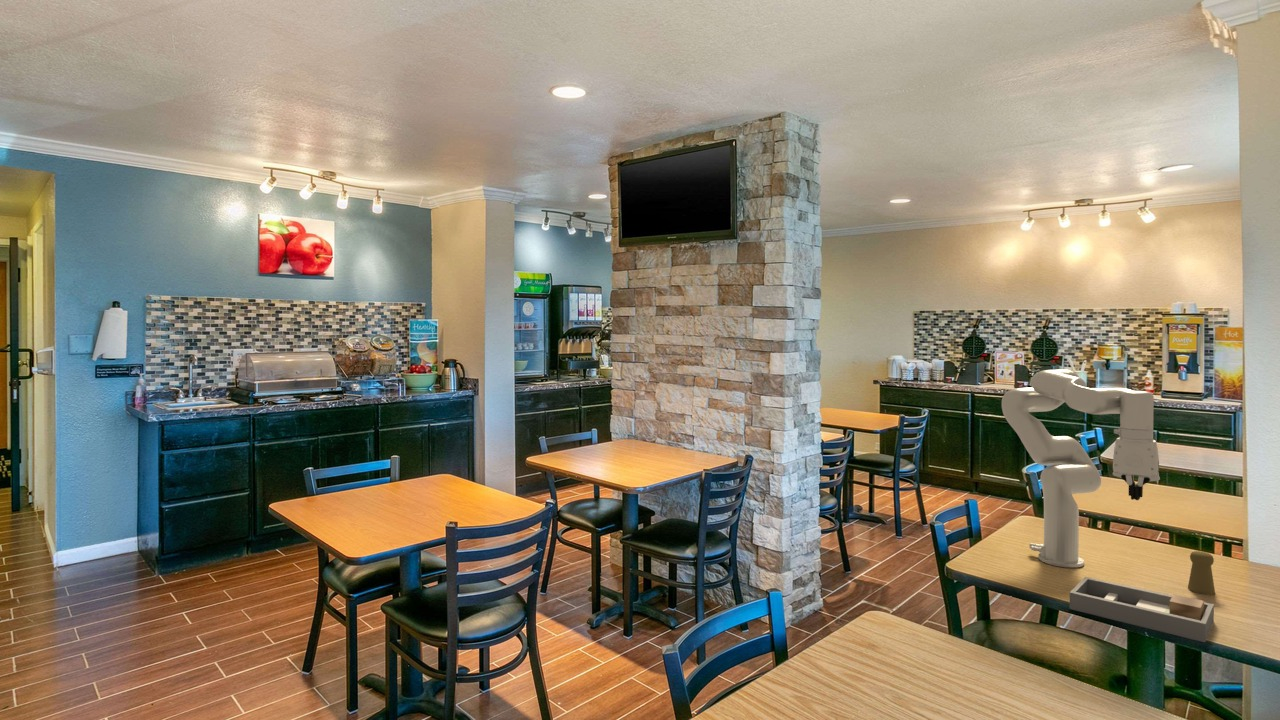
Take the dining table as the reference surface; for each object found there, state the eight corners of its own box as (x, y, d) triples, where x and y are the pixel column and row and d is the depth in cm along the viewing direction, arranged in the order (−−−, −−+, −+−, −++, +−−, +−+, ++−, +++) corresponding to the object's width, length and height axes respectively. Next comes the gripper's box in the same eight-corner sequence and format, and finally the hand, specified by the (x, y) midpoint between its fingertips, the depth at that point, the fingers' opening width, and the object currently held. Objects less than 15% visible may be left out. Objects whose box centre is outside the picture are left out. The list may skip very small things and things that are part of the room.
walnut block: (1169, 618, 167) (1169, 601, 167) (1173, 611, 171) (1173, 594, 171) (1200, 625, 163) (1200, 607, 163) (1203, 618, 167) (1204, 600, 167)
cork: (1220, 595, 186) (1221, 556, 186) (1195, 593, 187) (1196, 555, 187) (1206, 587, 192) (1207, 549, 192) (1182, 585, 193) (1183, 548, 193)
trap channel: (1069, 608, 179) (1069, 592, 179) (1085, 592, 190) (1085, 576, 190) (1205, 642, 158) (1205, 624, 158) (1213, 621, 170) (1213, 604, 169)
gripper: (1101, 433, 190) (1100, 497, 191) (1167, 439, 179) (1166, 506, 180) (1107, 430, 195) (1107, 492, 196) (1172, 435, 184) (1171, 501, 185)
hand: (1135, 498), depth 188 cm, fingers closed
